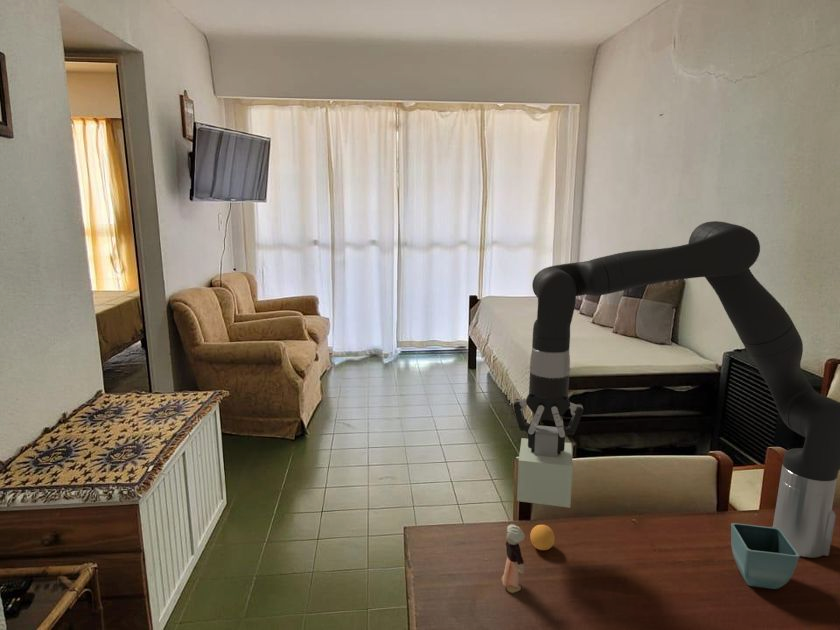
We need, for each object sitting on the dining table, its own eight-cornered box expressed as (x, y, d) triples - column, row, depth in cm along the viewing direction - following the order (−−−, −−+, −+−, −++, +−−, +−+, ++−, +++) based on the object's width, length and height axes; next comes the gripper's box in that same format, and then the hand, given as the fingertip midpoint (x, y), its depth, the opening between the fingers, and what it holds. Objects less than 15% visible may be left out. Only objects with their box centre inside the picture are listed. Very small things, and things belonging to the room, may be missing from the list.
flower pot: (794, 599, 98) (801, 556, 96) (741, 592, 99) (747, 550, 98) (773, 567, 106) (779, 527, 104) (724, 562, 108) (730, 522, 106)
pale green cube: (568, 481, 113) (572, 422, 110) (570, 507, 103) (574, 444, 101) (520, 475, 116) (522, 418, 113) (517, 501, 106) (519, 438, 103)
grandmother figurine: (492, 576, 104) (494, 517, 101) (509, 570, 105) (511, 513, 103) (514, 602, 97) (517, 541, 94) (532, 596, 99) (535, 535, 96)
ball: (553, 542, 114) (555, 522, 113) (553, 557, 109) (556, 536, 108) (529, 538, 115) (532, 517, 114) (528, 552, 111) (531, 531, 109)
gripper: (586, 367, 106) (581, 446, 110) (514, 362, 109) (511, 439, 113) (588, 379, 99) (583, 463, 103) (511, 373, 102) (508, 455, 106)
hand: (545, 450), depth 108 cm, fingers closed on pale green cube, 4 cm apart
